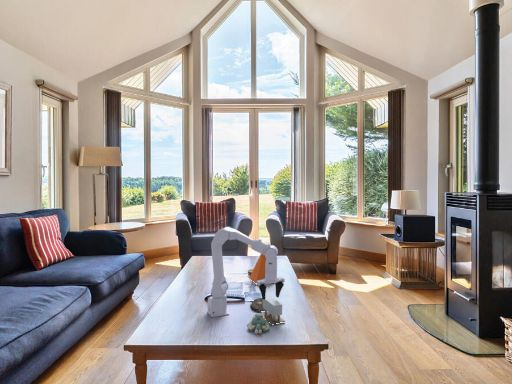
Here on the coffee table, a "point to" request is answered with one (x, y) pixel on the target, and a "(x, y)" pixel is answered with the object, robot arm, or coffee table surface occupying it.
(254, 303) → the geode
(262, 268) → the pyramid
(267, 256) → the robot arm
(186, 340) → the coffee table surface
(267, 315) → the peg stand
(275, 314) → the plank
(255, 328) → the stuffed animal
